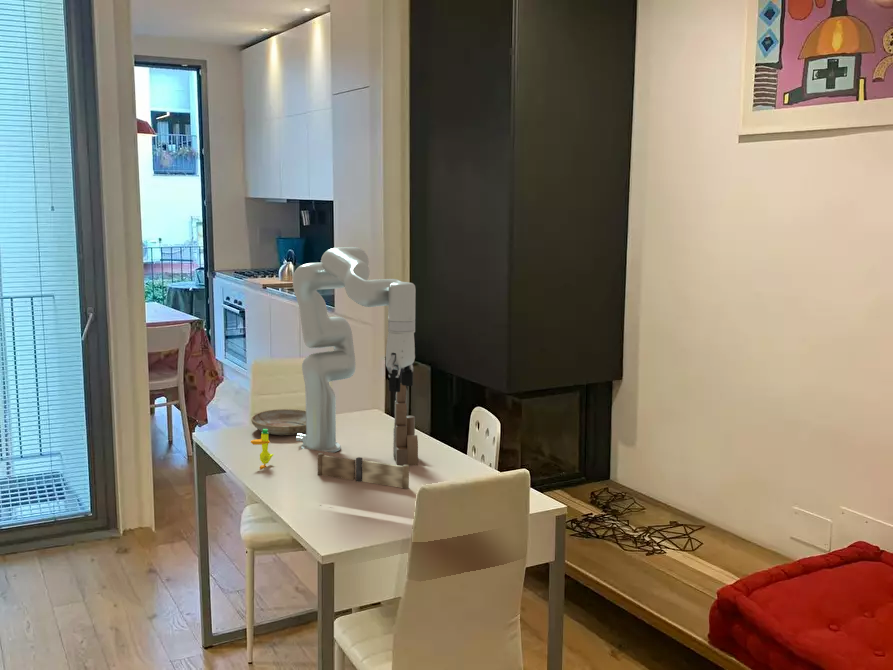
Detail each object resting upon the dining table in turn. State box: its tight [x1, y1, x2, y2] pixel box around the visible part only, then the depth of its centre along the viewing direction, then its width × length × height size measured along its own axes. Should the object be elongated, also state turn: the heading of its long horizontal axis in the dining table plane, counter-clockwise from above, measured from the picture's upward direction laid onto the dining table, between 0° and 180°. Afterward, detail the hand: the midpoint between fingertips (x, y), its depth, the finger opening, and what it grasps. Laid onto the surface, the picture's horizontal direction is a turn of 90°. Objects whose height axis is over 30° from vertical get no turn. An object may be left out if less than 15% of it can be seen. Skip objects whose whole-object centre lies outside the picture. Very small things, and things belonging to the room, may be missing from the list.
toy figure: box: [250, 429, 275, 470], centre depth 261 cm, size 7×4×12 cm, turn 99°
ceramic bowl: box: [251, 408, 306, 436], centre depth 302 cm, size 23×24×5 cm
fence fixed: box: [317, 452, 363, 483], centre depth 250 cm, size 14×2×7 cm, turn 68°
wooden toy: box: [392, 383, 419, 466], centre depth 268 cm, size 16×7×25 cm, turn 8°
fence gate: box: [361, 459, 410, 490], centre depth 245 cm, size 14×2×6 cm, turn 68°
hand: (401, 388), depth 246 cm, fingers open, 7 cm apart
